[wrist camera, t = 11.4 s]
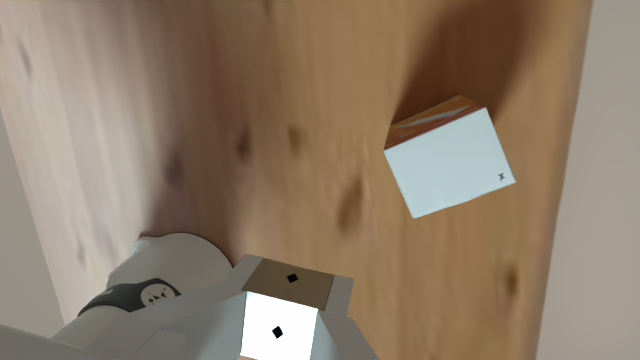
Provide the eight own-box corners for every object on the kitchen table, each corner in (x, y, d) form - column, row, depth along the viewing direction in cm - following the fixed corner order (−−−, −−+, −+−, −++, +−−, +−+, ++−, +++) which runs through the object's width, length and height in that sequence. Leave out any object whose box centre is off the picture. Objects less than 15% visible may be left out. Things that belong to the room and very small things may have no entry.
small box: (460, 92, 37) (488, 104, 25) (482, 147, 38) (520, 183, 26) (387, 125, 40) (381, 150, 28) (410, 175, 41) (413, 221, 29)
